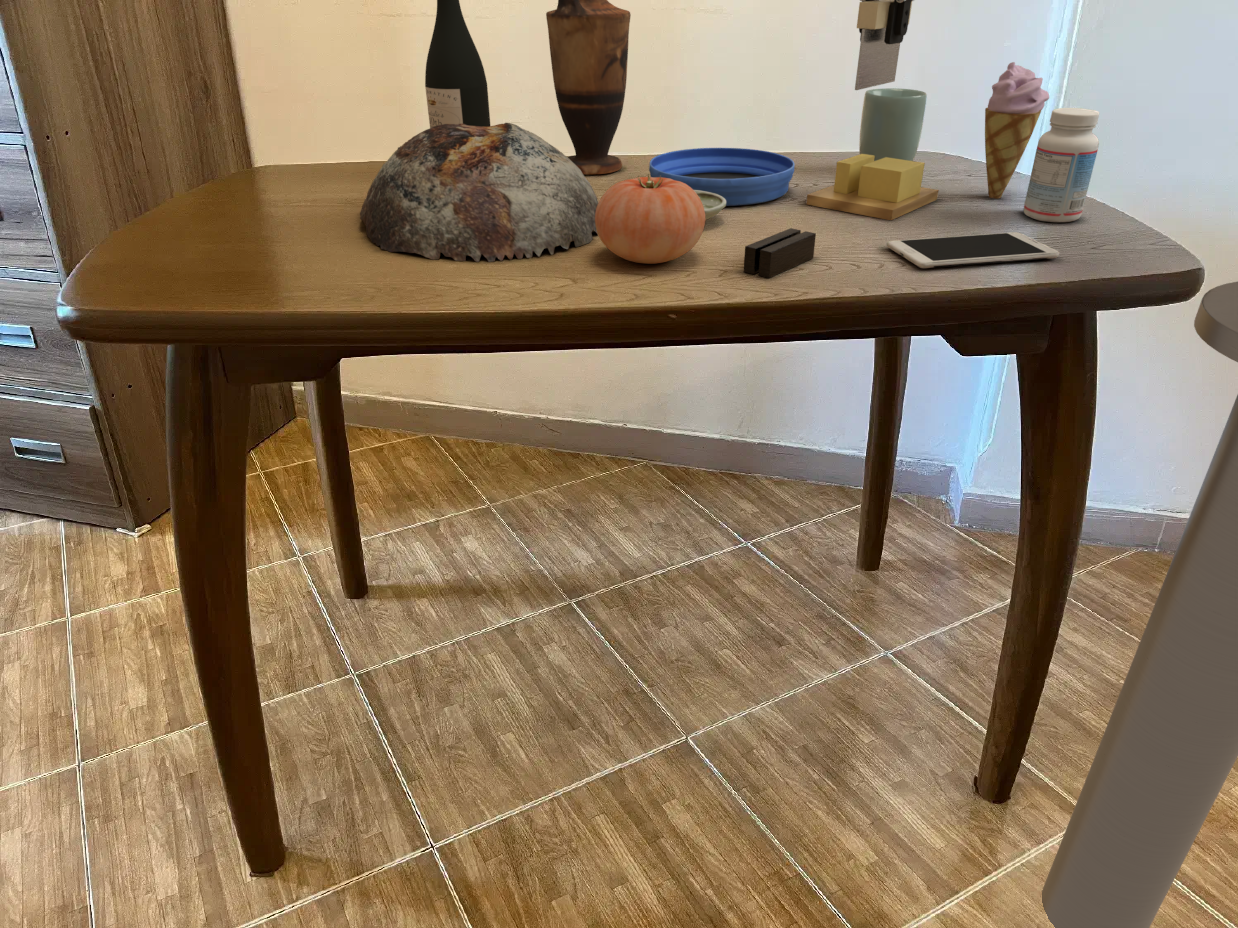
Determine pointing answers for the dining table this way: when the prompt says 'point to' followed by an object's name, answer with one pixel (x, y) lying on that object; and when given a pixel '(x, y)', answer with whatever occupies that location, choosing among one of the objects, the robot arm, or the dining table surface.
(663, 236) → the tomato
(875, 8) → the knife
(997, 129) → the ice cream cone
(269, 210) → the dining table surface
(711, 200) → the saucer
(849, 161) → the butter slice
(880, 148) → the cup
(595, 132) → the vase
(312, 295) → the dining table surface
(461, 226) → the bread
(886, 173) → the butter block
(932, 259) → the smartphone
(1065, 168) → the pill bottle
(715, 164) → the bowl
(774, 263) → the knife holder
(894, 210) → the board
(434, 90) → the wine bottle
